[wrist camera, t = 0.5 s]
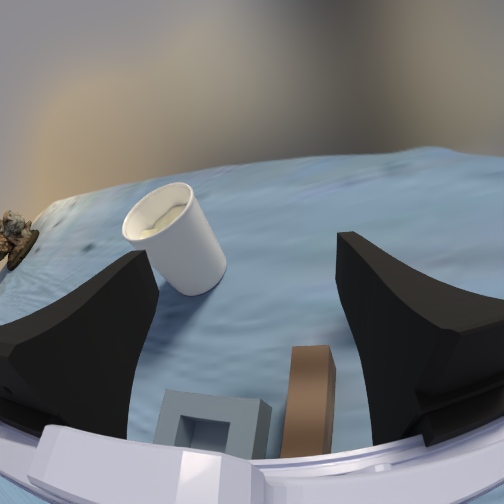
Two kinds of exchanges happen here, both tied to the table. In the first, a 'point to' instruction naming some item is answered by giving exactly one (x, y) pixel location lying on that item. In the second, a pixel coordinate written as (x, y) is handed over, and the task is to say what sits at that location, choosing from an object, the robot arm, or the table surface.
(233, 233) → the table surface
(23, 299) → the table surface
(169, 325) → the table surface
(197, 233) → the candle holder
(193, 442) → the socket block
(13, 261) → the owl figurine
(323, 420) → the walnut wall
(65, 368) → the robot arm
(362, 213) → the table surface
